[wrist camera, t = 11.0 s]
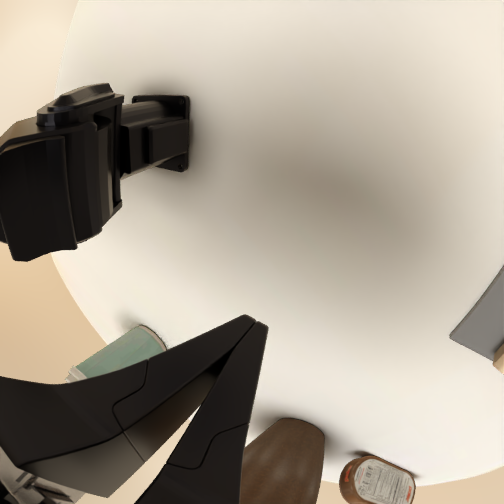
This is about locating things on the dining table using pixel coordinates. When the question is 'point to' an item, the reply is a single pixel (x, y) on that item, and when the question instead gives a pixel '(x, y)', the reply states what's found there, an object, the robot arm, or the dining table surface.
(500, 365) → the domino
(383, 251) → the dining table surface
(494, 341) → the mat
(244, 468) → the plant pot
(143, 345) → the disposable coffee cup
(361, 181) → the dining table surface
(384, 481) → the tin
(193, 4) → the dining table surface
